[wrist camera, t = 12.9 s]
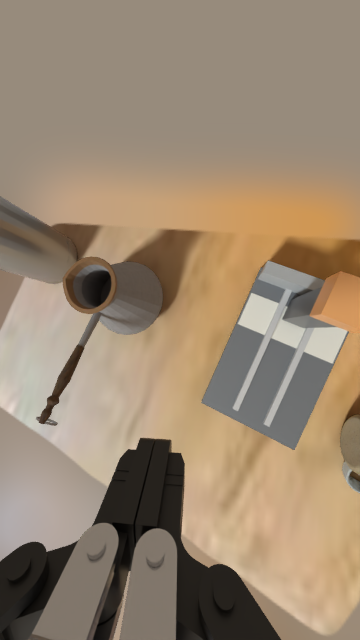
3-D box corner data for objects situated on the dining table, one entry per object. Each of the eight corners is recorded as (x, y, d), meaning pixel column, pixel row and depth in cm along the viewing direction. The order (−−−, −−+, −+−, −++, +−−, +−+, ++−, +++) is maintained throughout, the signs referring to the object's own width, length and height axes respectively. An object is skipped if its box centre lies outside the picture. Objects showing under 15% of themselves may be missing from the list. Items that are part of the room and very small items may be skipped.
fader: (304, 331, 30) (370, 333, 17) (277, 321, 31) (320, 314, 18) (316, 306, 30) (391, 288, 17) (289, 296, 31) (340, 271, 17)
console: (291, 445, 31) (305, 468, 26) (202, 400, 34) (198, 412, 29) (356, 304, 30) (383, 299, 25) (259, 269, 33) (266, 258, 28)
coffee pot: (112, 260, 38) (43, 216, 23) (175, 274, 35) (142, 235, 21) (81, 379, 38) (-8, 411, 23) (142, 400, 35) (86, 450, 21)
